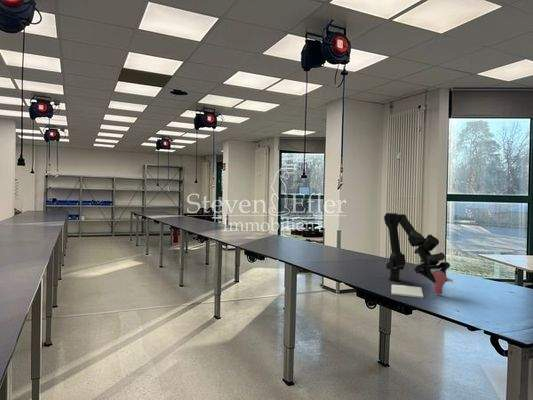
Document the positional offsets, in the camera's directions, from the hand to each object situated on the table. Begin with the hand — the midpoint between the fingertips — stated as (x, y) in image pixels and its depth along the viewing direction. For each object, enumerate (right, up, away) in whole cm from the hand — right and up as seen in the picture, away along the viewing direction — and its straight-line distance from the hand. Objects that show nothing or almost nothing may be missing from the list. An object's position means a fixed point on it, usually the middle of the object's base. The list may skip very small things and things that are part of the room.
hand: (440, 281), depth 197 cm
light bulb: (-1, -7, +2) cm, 7 cm away
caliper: (+17, -7, +41) cm, 45 cm away
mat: (-15, -6, +6) cm, 17 cm away
